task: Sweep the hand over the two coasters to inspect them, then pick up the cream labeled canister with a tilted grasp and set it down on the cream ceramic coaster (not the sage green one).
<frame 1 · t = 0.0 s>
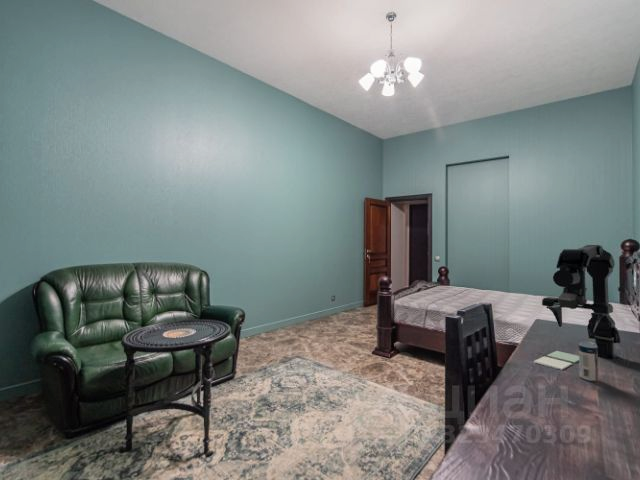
hand: (576, 329, 111), 15 cm above the table, tool pointing down, fingers open, 9 cm apart
cream coaster: (552, 363, 118), on the table
cream labeled canister: (588, 379, 105), on the table
sage coaster: (565, 357, 125), on the table
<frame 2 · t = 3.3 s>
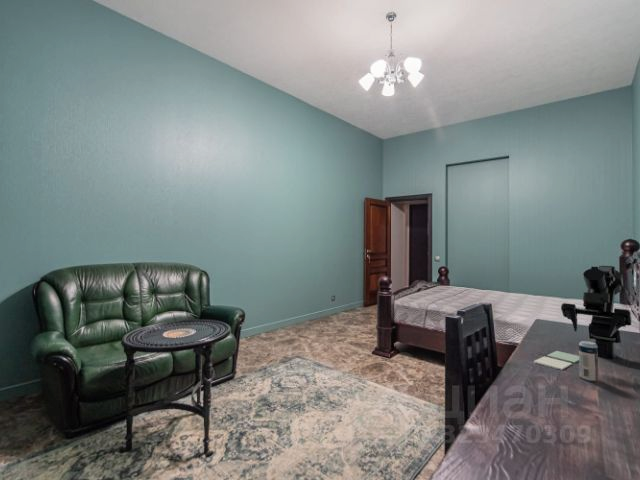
hand: (591, 333, 110), 13 cm above the table, tool tilted 45°, fingers open, 9 cm apart
nothing on the table moved.
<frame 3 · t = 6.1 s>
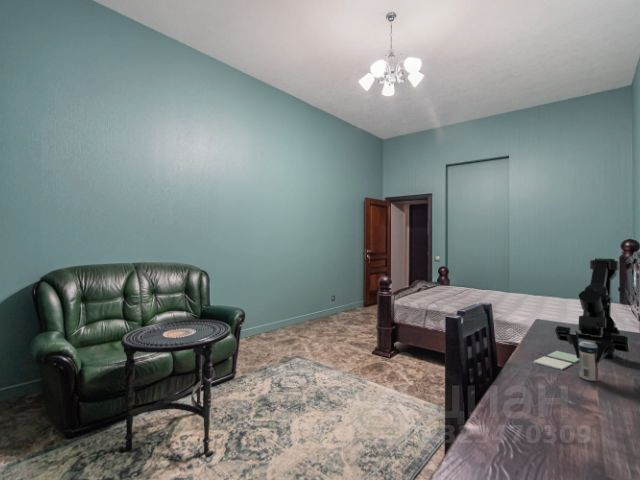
hand: (587, 359, 104), 7 cm above the table, tool tilted 45°, fingers closed on cream labeled canister, 5 cm apart
cream labeled canister: (588, 379, 105), on the table, touching gripper
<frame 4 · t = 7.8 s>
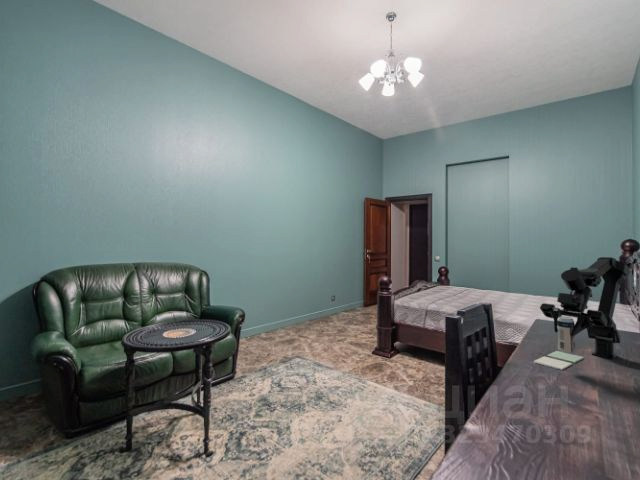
hand: (563, 333, 112), 13 cm above the table, tool tilted 45°, fingers closed on cream labeled canister, 5 cm apart
cream labeled canister: (566, 352, 112), point 6 cm above the table, touching gripper
when the fingers open (8 cm above the table, at t = 9.6 s): cream labeled canister stays where it is, resting on cream coaster.
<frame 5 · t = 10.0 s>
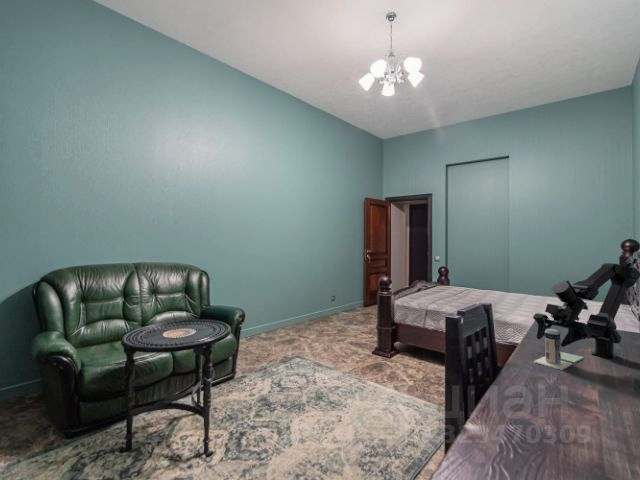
hand: (549, 342, 118), 8 cm above the table, tool tilted 45°, fingers open, 9 cm apart
cream labeled canister: (553, 362, 118), resting on cream coaster
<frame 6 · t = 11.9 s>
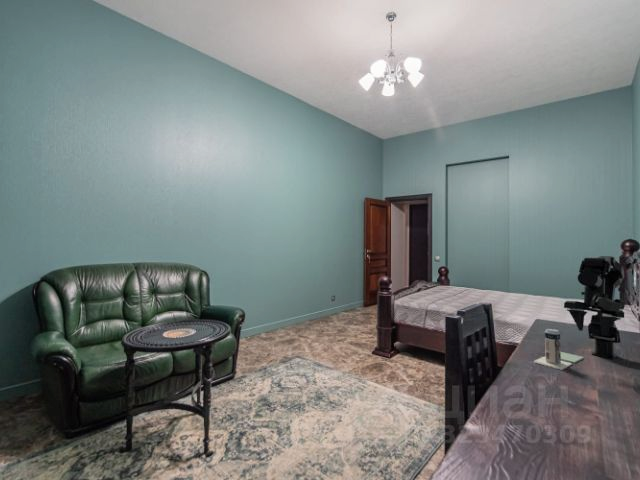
hand: (592, 332, 116), 12 cm above the table, tool pointing down, fingers open, 9 cm apart
nothing on the table moved.
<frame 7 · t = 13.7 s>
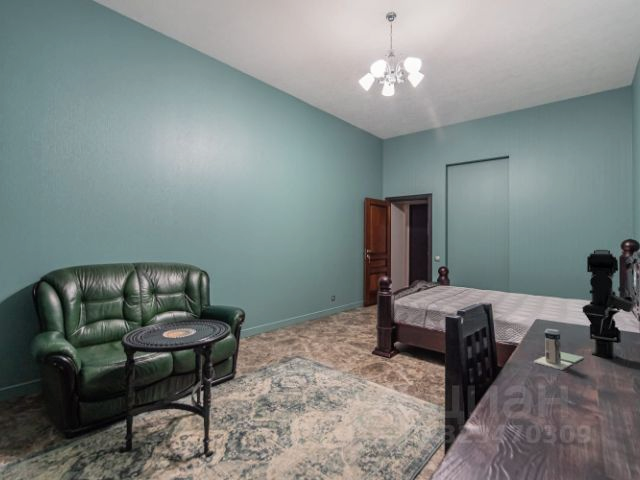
hand: (602, 331, 114), 13 cm above the table, tool pointing down, fingers open, 9 cm apart
nothing on the table moved.
at the end: cream labeled canister inside the target area on the cream coaster (0.2 cm from its centre), point 0.3 cm above the cream coaster's base; cream labeled canister tilted 0°; the gripper is holding nothing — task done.
